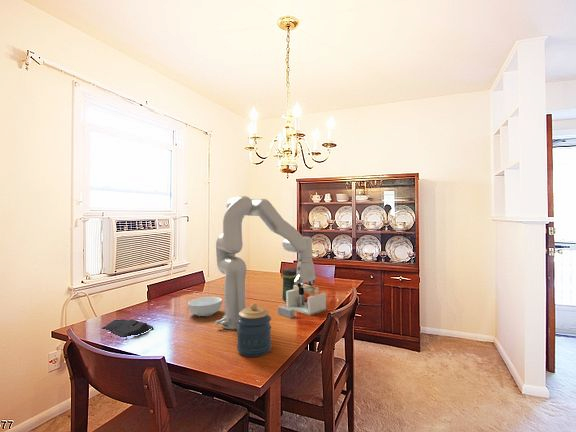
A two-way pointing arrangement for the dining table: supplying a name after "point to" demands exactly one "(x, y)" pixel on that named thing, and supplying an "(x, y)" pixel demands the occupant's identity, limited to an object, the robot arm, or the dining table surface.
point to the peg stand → (311, 307)
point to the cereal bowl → (205, 306)
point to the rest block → (286, 311)
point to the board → (307, 289)
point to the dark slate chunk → (127, 327)
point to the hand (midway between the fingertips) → (305, 293)
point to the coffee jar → (288, 280)
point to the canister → (254, 331)
